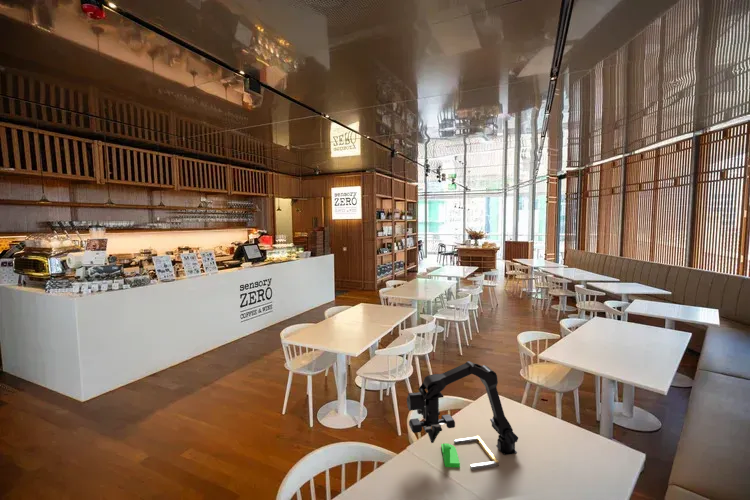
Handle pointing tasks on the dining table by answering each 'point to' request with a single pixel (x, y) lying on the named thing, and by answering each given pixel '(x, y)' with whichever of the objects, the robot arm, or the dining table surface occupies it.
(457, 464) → the mechanical part
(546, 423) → the dining table surface
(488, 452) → the u-shaped frame
